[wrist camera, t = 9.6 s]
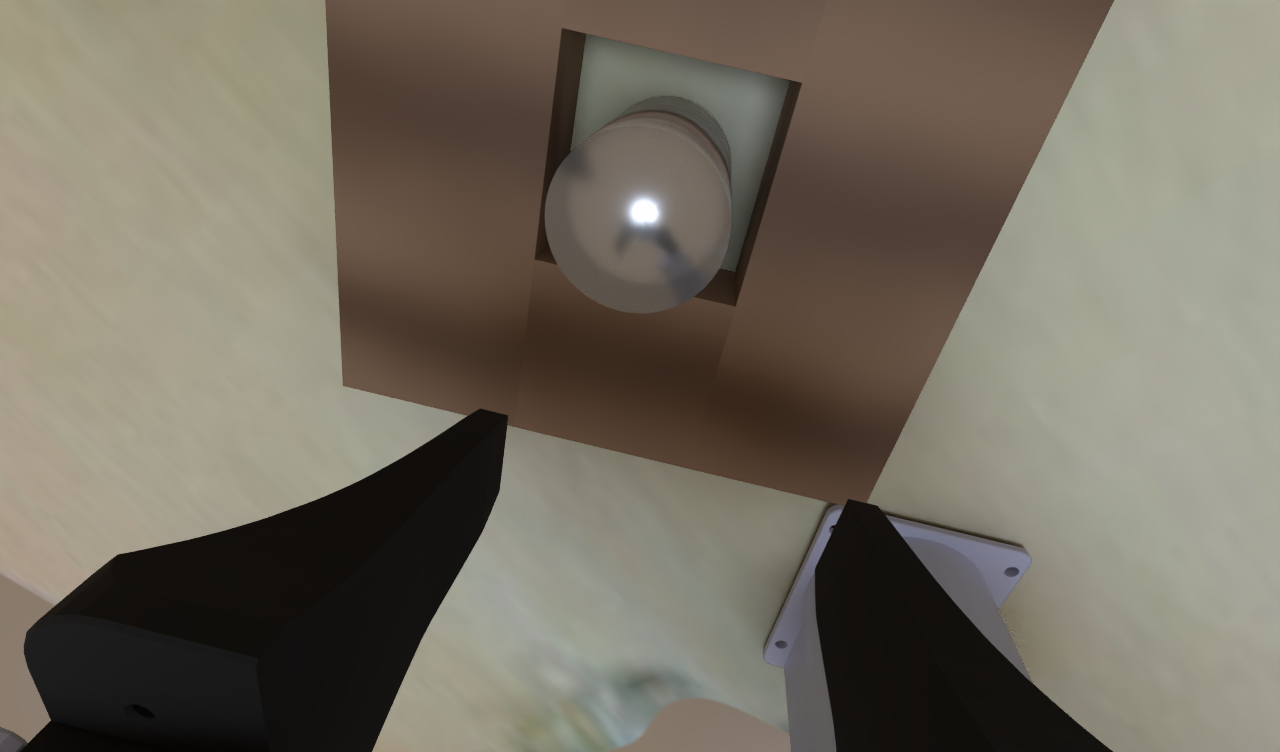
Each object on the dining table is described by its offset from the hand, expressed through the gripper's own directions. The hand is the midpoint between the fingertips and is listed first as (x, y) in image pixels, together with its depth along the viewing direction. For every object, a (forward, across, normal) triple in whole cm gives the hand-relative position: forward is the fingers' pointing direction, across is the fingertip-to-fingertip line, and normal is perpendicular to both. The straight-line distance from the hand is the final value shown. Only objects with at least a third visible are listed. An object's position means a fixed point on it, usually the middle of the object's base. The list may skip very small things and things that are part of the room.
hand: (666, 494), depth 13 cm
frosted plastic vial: (+10, +2, -5) cm, 11 cm away
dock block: (+10, +2, -5) cm, 11 cm away
